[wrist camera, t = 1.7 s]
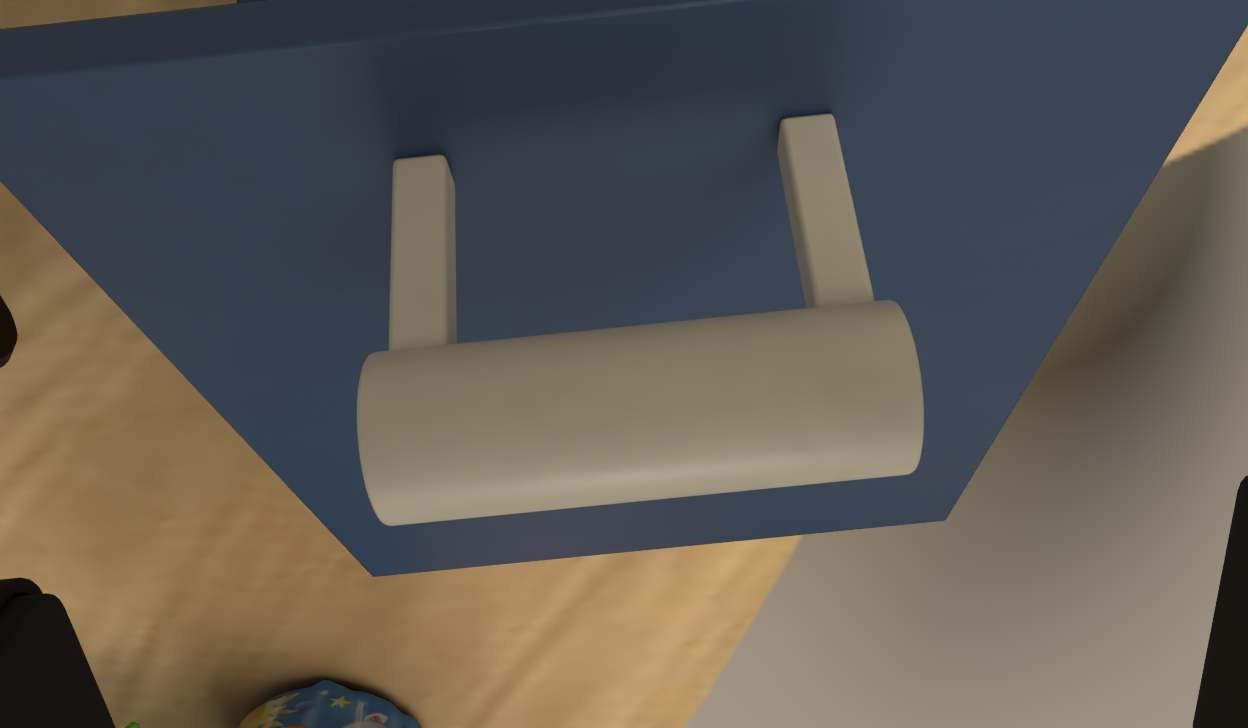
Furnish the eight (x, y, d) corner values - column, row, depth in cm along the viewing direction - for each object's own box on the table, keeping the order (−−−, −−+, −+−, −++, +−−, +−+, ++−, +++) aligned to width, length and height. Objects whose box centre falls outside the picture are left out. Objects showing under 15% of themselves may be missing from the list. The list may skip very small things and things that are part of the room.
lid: (-76, 35, 12) (-211, 487, 10) (1278, -112, 12) (1505, 313, 10) (373, 549, 30) (367, 764, 27) (939, 493, 29) (988, 704, 27)
